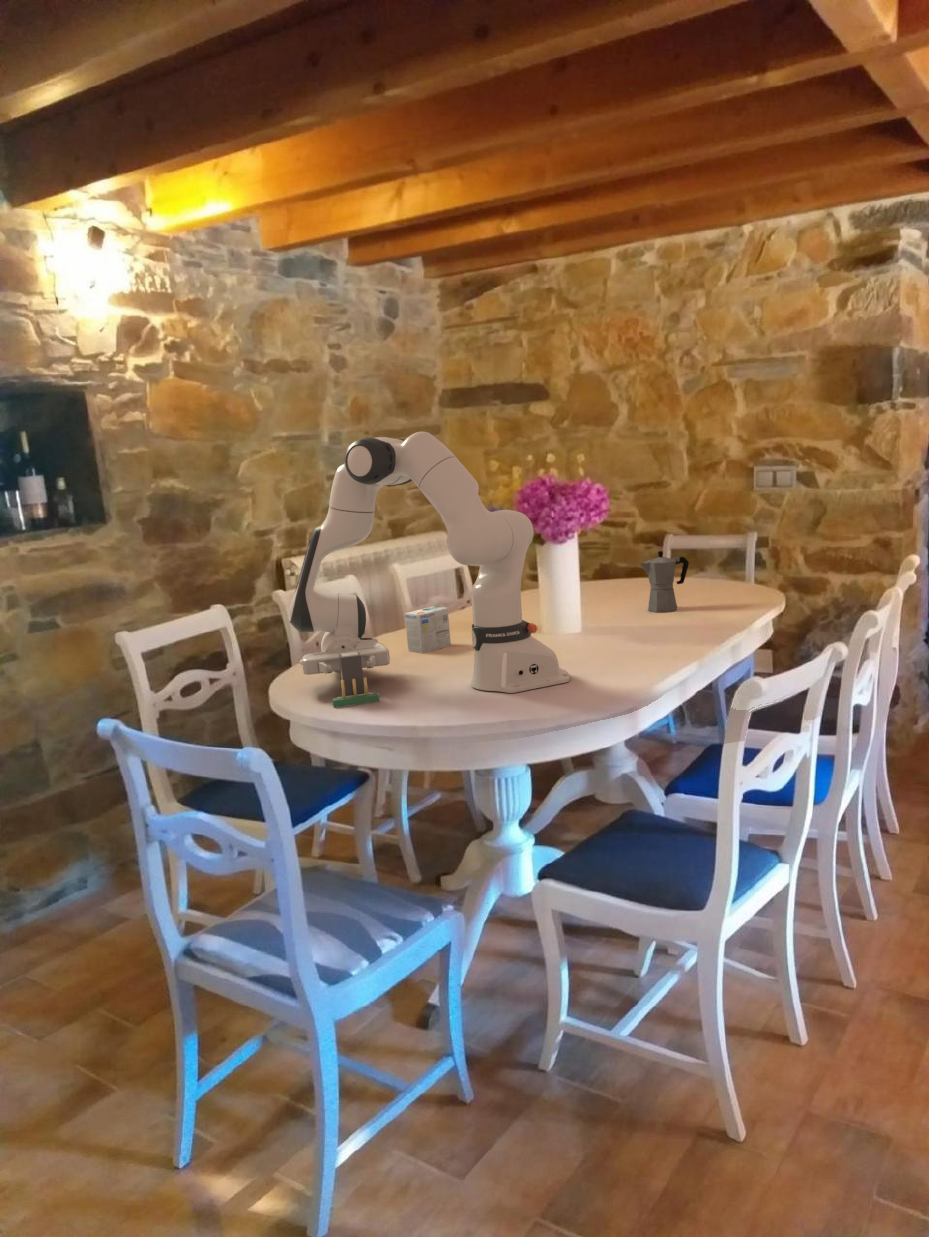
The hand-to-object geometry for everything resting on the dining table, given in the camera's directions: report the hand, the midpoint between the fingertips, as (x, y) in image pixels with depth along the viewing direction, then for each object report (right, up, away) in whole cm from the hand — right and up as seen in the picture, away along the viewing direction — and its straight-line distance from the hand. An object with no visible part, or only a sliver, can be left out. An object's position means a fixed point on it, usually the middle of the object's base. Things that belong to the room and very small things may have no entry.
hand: (349, 667), depth 211 cm
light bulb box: (+16, +3, +45) cm, 48 cm away
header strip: (+2, -8, -5) cm, 9 cm away
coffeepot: (+87, +14, +73) cm, 115 cm away
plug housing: (+1, -7, -1) cm, 7 cm away
